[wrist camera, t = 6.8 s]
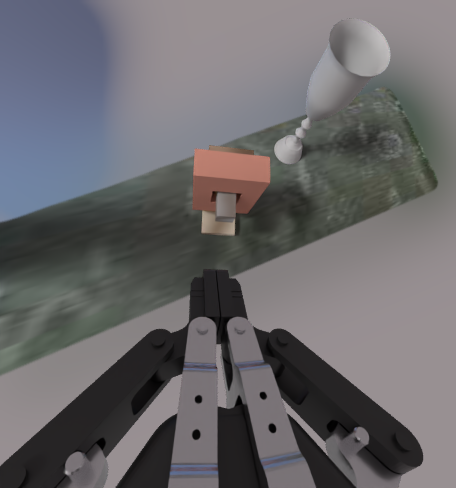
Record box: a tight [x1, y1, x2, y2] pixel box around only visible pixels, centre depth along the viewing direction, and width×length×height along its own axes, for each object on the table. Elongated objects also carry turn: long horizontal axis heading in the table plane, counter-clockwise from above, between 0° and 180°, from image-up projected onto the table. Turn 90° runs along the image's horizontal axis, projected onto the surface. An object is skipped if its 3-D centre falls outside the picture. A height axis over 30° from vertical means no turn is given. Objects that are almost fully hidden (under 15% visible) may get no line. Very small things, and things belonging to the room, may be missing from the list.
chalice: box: [274, 18, 390, 164], centre depth 32 cm, size 7×7×18 cm
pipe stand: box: [201, 145, 254, 236], centre depth 31 cm, size 5×7×12 cm
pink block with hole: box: [193, 149, 270, 214], centre depth 29 cm, size 8×3×10 cm, turn 89°
